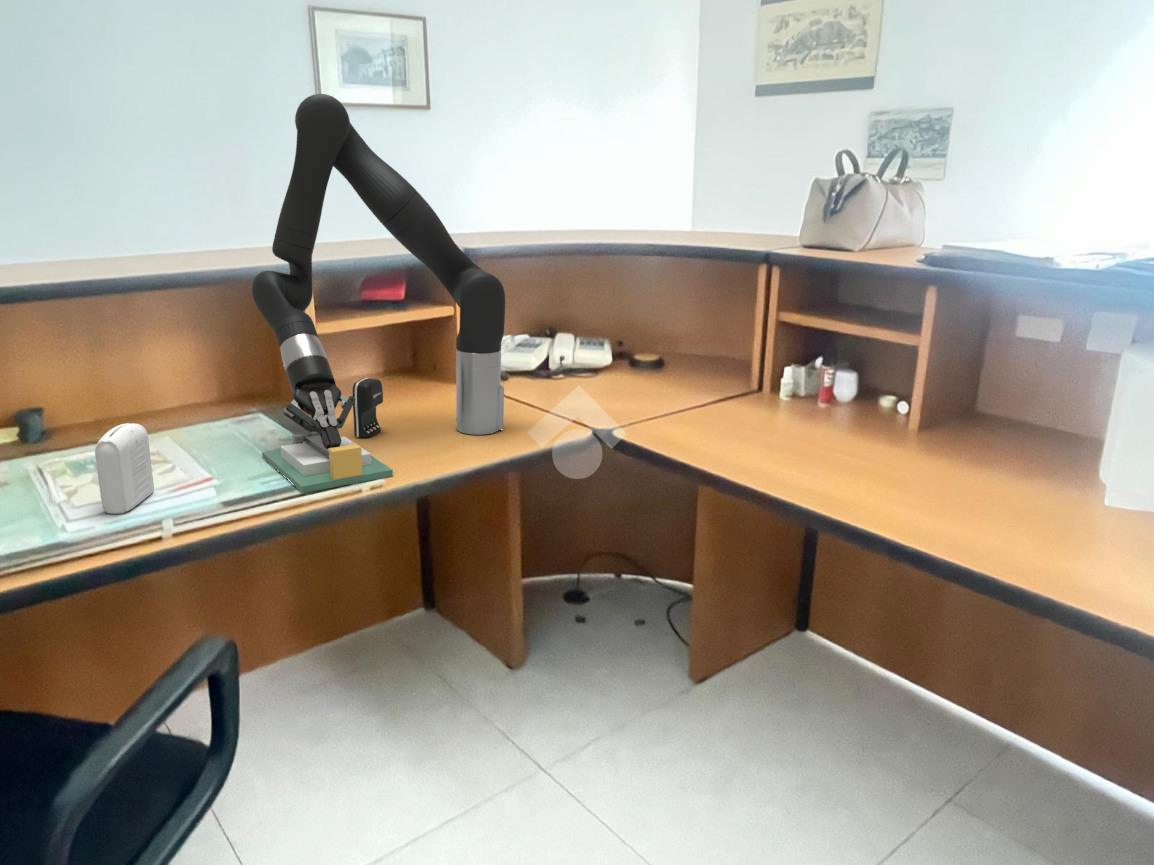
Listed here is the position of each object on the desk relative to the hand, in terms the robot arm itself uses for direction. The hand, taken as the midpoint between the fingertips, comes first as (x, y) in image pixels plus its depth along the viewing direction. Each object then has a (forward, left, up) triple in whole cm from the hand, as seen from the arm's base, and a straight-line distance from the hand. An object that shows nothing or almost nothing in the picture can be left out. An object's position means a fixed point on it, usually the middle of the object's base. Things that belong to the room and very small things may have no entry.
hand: (334, 448), depth 138 cm
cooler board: (+1, -5, -5) cm, 8 cm away
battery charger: (-11, -22, -5) cm, 26 cm away
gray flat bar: (+1, -5, -2) cm, 6 cm away
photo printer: (+32, +1, -5) cm, 32 cm away
